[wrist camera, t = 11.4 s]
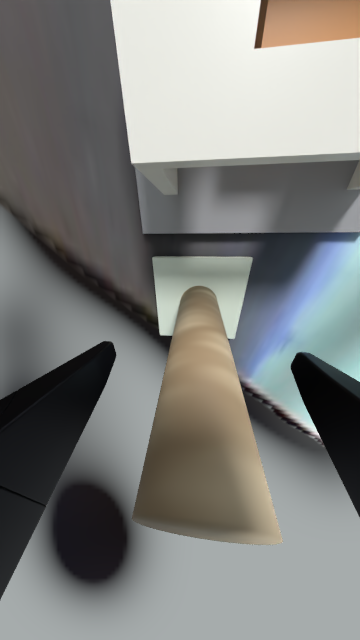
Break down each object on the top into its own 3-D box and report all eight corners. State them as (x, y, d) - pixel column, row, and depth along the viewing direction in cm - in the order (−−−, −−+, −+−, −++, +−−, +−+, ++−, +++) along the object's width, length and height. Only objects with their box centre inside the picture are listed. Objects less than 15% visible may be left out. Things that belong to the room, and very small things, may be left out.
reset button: (350, -19, 5) (448, -174, 3) (310, 122, 7) (357, 79, 5) (255, -6, 6) (289, -141, 4) (238, 127, 7) (254, 88, 5)
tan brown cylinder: (219, 286, 12) (312, 535, 2) (214, 319, 13) (258, 548, 4) (180, 285, 12) (116, 506, 2) (180, 318, 13) (142, 528, 4)
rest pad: (250, 256, 11) (252, 258, 10) (233, 334, 15) (234, 338, 14) (154, 256, 11) (152, 257, 11) (161, 331, 15) (159, 335, 15)
